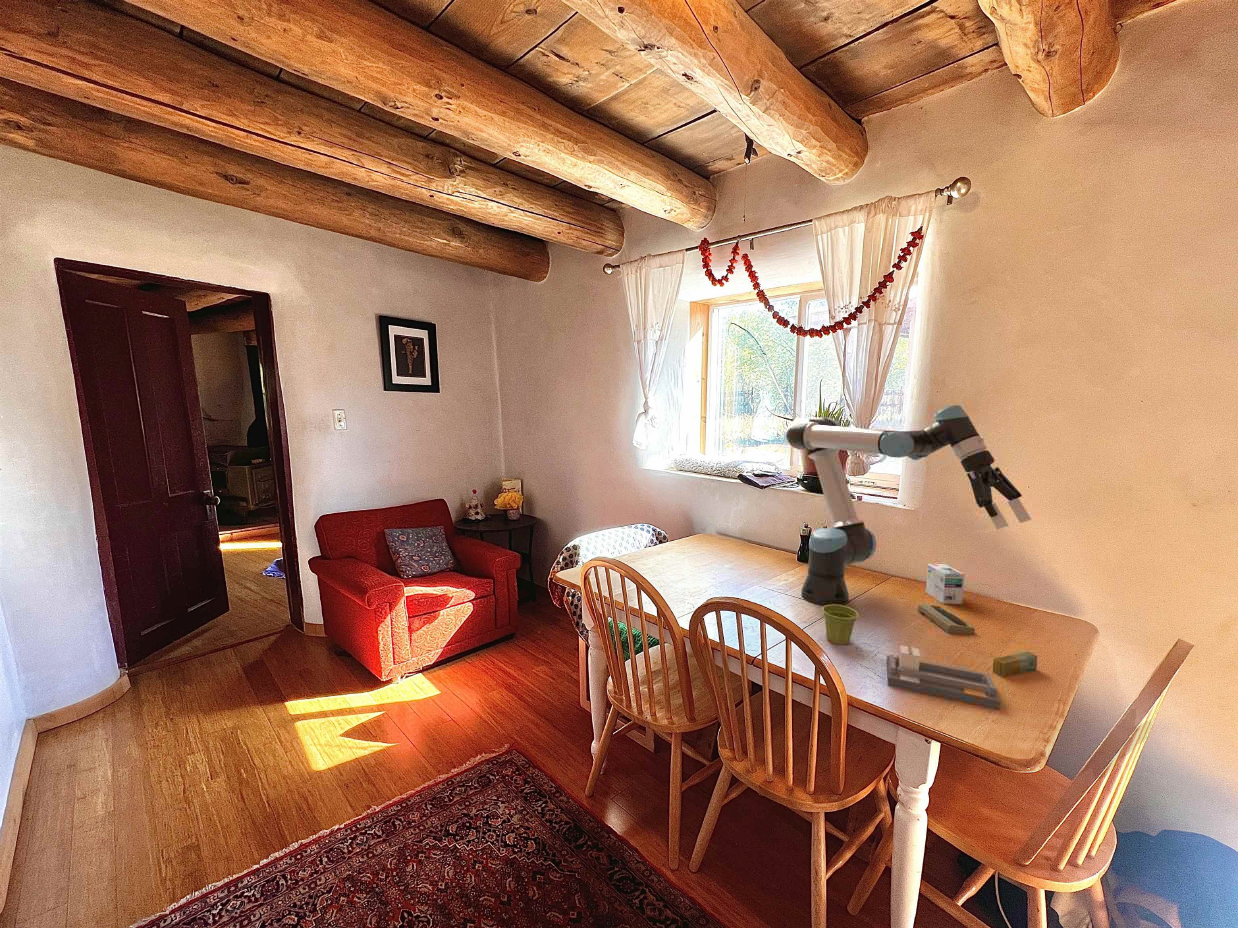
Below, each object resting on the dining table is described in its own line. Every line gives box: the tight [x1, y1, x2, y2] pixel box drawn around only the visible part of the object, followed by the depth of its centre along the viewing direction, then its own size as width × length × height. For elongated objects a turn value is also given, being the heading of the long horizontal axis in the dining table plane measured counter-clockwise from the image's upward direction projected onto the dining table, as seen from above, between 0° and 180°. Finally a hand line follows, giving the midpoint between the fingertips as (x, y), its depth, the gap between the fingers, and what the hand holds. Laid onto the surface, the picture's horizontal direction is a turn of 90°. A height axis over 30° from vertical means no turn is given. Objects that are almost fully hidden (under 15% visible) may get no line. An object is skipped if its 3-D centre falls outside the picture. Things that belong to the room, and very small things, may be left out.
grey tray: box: [885, 654, 1001, 711], centre depth 124 cm, size 22×12×4 cm, turn 64°
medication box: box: [992, 651, 1038, 678], centre depth 130 cm, size 12×3×4 cm, turn 107°
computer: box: [917, 603, 976, 635], centre depth 159 cm, size 16×8×3 cm, turn 179°
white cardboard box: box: [898, 645, 921, 671], centre depth 126 cm, size 4×4×5 cm
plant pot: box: [822, 605, 859, 646], centre depth 146 cm, size 9×9×9 cm
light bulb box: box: [925, 563, 966, 605], centre depth 177 cm, size 11×7×11 cm, turn 179°
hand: (1014, 524), depth 139 cm, fingers open, 13 cm apart
